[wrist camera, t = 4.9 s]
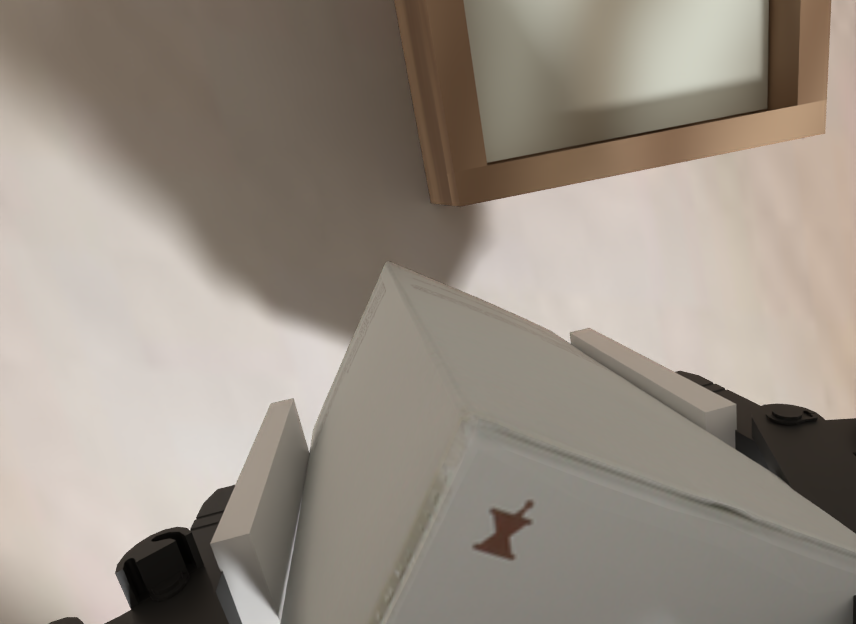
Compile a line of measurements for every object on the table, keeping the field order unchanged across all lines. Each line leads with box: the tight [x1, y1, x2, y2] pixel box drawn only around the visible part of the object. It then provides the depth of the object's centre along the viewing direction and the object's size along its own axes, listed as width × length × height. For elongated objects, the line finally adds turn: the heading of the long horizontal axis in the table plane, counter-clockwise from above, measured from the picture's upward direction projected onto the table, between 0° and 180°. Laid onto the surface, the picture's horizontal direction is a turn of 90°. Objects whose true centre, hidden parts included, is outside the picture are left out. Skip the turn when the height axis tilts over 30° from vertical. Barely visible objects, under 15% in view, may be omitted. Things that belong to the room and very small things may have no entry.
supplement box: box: [280, 261, 856, 624], centre depth 12 cm, size 7×7×13 cm
